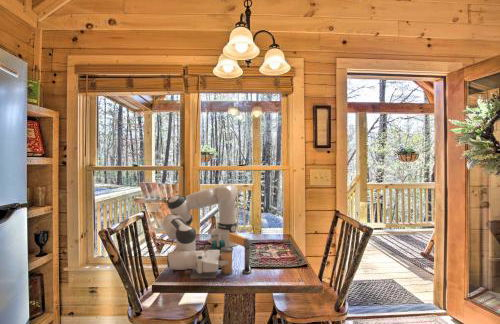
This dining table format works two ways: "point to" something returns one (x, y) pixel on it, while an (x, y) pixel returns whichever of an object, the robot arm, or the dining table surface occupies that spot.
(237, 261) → the dining table surface
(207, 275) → the pad
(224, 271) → the cylinder
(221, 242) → the bracket
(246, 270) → the post
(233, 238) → the orange wooden bar
